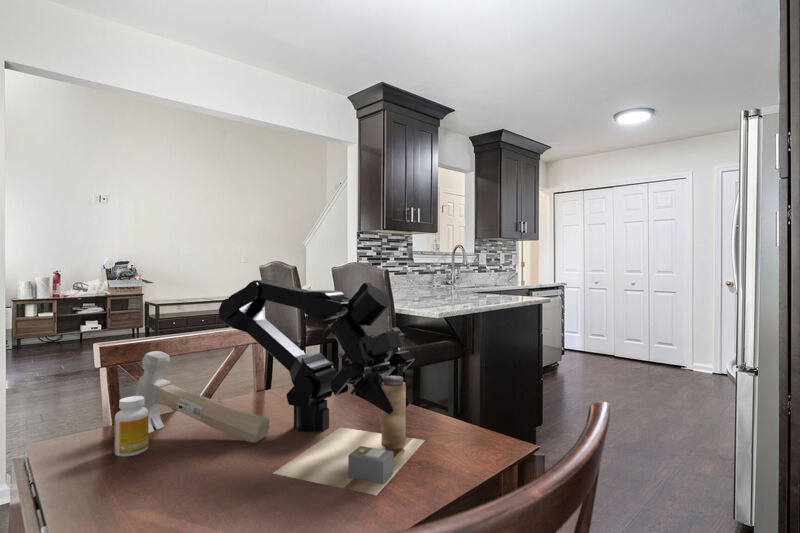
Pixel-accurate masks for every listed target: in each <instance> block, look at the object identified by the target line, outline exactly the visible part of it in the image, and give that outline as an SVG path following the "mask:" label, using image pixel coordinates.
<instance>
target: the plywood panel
mask: <svg viewBox="0 0 800 533" xmlns="http://www.w3.org/2000/svg"><path fill="white" fill-rule="evenodd" d="M425 441H426V440H425V439H421V438H414V437H413V438H412V437H406V444H405V446H404V447H402V448H398V449H389V448H385V447H383V446H382V444H381V433H380V432H374V431H373V432H372V431H366V430H360V429H354V428H347V427H340V426H339V427H338V428H337V429H336V430H334V431H333V432H332V433H330V434H329V435H327V436H326V437H324V438H322V439H321V440H319V441H318V442H317V443H315V444H314V445H312V446H311V447H309V448H308V449H306V450H305V451H303V452H302V453H299V455H297V456H296V457H294V458H293V459H292V460H290V461H288V462H287V463H285V464H284V465H282V466H281V467H279V468H278V469H276V470H275V471H273V472H272V475H278V476H282V477H288V478H293V479H296V480H302V481H306V482H311V483H317V484H321V485H326V486H330V487H335V488H338V489H339V488H340V489H344V490H347V491H355V492H359V493H363V494H368V495H372V496H378V495H379V493H380V492H381V491H382V490H383V489H384V488H385V486H387V484H388V483H389V482H390V481H391V480H392V478H394V477H395V475H396V474H398V472H399V471H400V470H401V469H402V467H403V466H404V465H405V464H406V463H407V462H408V461H409V459H410V458H411V457H412V456H413V455H414V454H415V453H416V452H417V450H419V448H420V447H421V446H422V445H423V444H424V442H425ZM359 446H364V447H370V448H377V449H383V450H388V451H393V474H392V475H391V476H390V478H389V479H388V480H387V481H386V482H385V483H384V484H378V483H373V482H368V481H363V480H358V479H353V478H348V455H349V454H351V453H352V452H353V451H354V450H356V449H357V448H358V447H359Z"/></svg>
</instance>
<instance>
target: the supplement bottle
mask: <svg viewBox="0 0 800 533" xmlns="http://www.w3.org/2000/svg"><path fill="white" fill-rule="evenodd" d="M143 406H144V397H143V396H135V395H132V396H127V397H124V398H123V397H122V398H121V399H119V401H118V408H119V409H120V410H119V411H117V412H116V413H115V415H114V454H115V455H116V456H117V457H122V458H123V457H131V456H132V457H133V456H137V455H140V454H142V453H145V452H146V451H147V450H148V449H149V443H150V442H149V436H150V435H149V434H150V433H149V431H148V430H149V426H148V424H149V422H148V419H149V413H148V410H147V409H146V408H144V407H143Z"/></svg>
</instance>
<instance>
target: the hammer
mask: <svg viewBox="0 0 800 533" xmlns="http://www.w3.org/2000/svg"><path fill="white" fill-rule="evenodd" d="M141 364H142V369H143V373H142V375H141V376H140V378H139V379H138V382H137V384H136V390H135V393H134V396H143V397H144V406H143V407H144V408H146V409H147V410H148V413H149V419H148V422H149V424H148V426H149V430H148V431H149V434H150V433H152V432H154V431H155V429H156V430H159V429H163V428H164V427H165V425H164V423H163V421H162V419H161V413H160V411H161V410H160V407H159V406H160V405H162V406H164V407H167V408H169V409H170V408H171V409H172V410H174V411H177V412H179V413H181V414H184V415H186V416H188V417H190V418H193V419H195V420H197V421H199V422H200V423H203V424H205V425H207V426H209V427H211V428H213V429H216V430H219V431H221V432H224V433H227V434H229V435H232V436H234V437H237V438H239V439H241V440H243V441H246V442H248V443H254V444H255V443H258V442H259V441H261V440H263V439H264V438H266V437H267V435H268V432H269V430H270V418H267V417H264V416H261V415H257V414H253V413H251V412H246V411H243V410H240V409H238V408H235V407H232V406H229V405H227V404H224V403H223V402H222V403H221V402H219V401H216V400H214V399H211V398H208V397H206V396H203V395H199V394H197V393H194V392H192V391H189V390H185V389H182V388H180V387H178V386H176V385H173V384H172V383H171V382H172V381H171V380H167V379H164V378H163V373H164V372H163V371H166V370H168V368H169V365H170V364H171V357H170V355H169V354H167V353H166V352H163V351H160V350H155V351H154V350H153V351H152V350H151V351H149V352H147V353H145V354H144V356H143V357H142V360H141ZM153 427H154V428H155V429H154V428H153Z"/></svg>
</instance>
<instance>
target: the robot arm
mask: <svg viewBox="0 0 800 533" xmlns="http://www.w3.org/2000/svg"><path fill="white" fill-rule="evenodd" d="M268 301H269V302H272V303H276V304H280V305H284V306H288V307H292V308H295V309H297V310H300V311H302V312H303V314H305V315H306V316H308V317H310V318H312V319H314V320H316V321H319V322H320V321H322V322H323V321H327V320H333V319H335V320H334V321H333V322H332V323H331V324H326V325H325V329H324V332H323V336H322V337H323V338H324V339H336V341H337V343H338V344H339V346H340V348H341V350H343V355H342V356H341V358H342V360H343V361H344V362H345V361H346V362H347V361H349V362H350V363H348V364H343V365H342V366H341V367H340V368H339V370H338V371H337V369H336V368H335V366H334V362H331V361H330V360H328V359H327V358H326V357H325V356H324V354H322V353H320V352H318V353H314V354H310V355H308V354H306V353H305V352H304V351H303V350H302V349H301V348H300V347H298V346H297V345H296V344H295V343H294V342H293V341H291V339H289V338H288V337H287V336H286V335H285V334H284V333H283V332H281V331H280V330H279V329H278V328H277V327H276V326H275V325H273V324H272V323H271V322H270V321H269V320H267V318H266V317H265V314H264V310H263V309H264V308H265V307H266V306H267V302H268ZM391 306H392V301H391V299H390V297H389V296H388V294H386V293H385V292H384V291H382V290H381V289H379V288H378V287H376V286H374V285H373V284H372V283H371V282H363V283H362V284H361V285H360V287H359V289H358V290H357V291H356V292H355V294H353V296H352V297H347V296H345V293H343V292H342V291H341V290H308V289H304V288H300V287H296V286H292V285H286V284H283V283H278V282H273V281H271V280H270V279H260V280H259V279H257V280H252V281H251V282H249V283H248V284H246V286H245V287H243V288H241V289H239V290H238V291H237V292H234V293H233V294H231V295H229V297H227V298H225V299H224V300H223V301H222V302H221V304H220V305H219V308H218V314H219V319H220V320H221V322H222V323H224V324H225V325H227V326H228V327H230V328H231V329H234V330H238V331H240V332H244V333H247V334H248V335H249V337H250V338H252V339H253V340H254V341H255V342H257V343H258V344H259V346H260V347H262V348H263V349H264V350H265V351H266V352H267V353H269V354H270V355H271V356H272V357H273V358H274V359H275V360H277V362H279V363H280V364H281V366H283V367H284V368H285V369H286V370H287V371H288V372H289V376H290V379H291V384H292V385H293V386H292V388H291V389H289V391H288V392H287V393H286V394H285V396H286V399H287V400H286V401H287V404H288V405H289V406H293V428H294V429H296V430H297V431H299V432H302V433H313V432H324V431H326V430H328V429H329V428H330V408H329V407H328V400H327V399H329V398H331V397H332V395H334V396H335V397H339V396H342V395H345V394H347V393H348V391H349V384H352V387H353V389H352V390H351V392H350V394H351V395H352V396H357V397H358V398H360V399H362V400H363V401H366V402H368V403H369V404H371V405H373V406H375V407H377V408H378V409H380V411H381V410H383V411H384V412H386V413H388V414H391V413H392V412H393V408H392V406H391V404H390V402H389V400H388V399H387V397H386V395H385V393H384V392H383V390H382V388H381V384H380V383H379V376H381V379H383V381H382V382H384V377H386V376H401V377H403V375H404V372H406V370H407V369H408V368H409V366H411V364H413V362H414V361H415V356H414V355H413V353H411V351H409V350H402V351H401V350H400V351H397V352H394V353H393V354H392V355H391V353H390V352H392V351H393V350H396V349H401V348H403V347H404V344H403V343H404V342H405V339H406V338H405V337H406V336H405V333H403V332H402V331H401V330H400V328H399V327H397V326H396V327H392V328H391V329H389V330H386V332H383V333H380V334H378V335H374V334H372V335H369V334H368V332H367V331H366V329H365V328H364V326H367V327H371V326H373V325H374V324H375V323H376V322H377V321H378V320H379V319H380V318H381V317H382V316H383V314H384V313H386V312H387V311H388V309H390V307H391ZM390 355H391V356H390ZM389 357H390V358H389ZM388 358H389V359H388ZM386 359H388V360H386ZM385 360H386V361H385ZM409 405H410V401H409V397H408V394H407V393H406V408H408V407H409Z"/></svg>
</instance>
